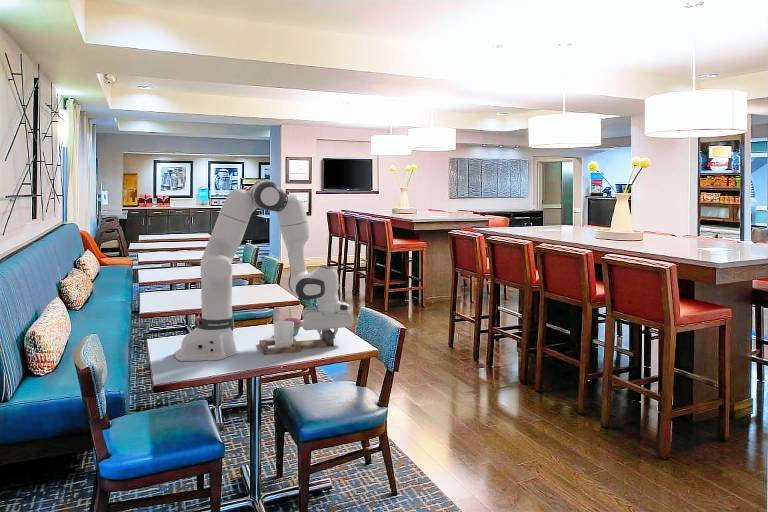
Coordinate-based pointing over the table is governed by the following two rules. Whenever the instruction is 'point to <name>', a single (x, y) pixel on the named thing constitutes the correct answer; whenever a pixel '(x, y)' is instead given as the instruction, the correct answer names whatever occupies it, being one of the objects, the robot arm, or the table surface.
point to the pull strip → (299, 344)
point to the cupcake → (296, 323)
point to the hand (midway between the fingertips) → (327, 339)
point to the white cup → (283, 333)
